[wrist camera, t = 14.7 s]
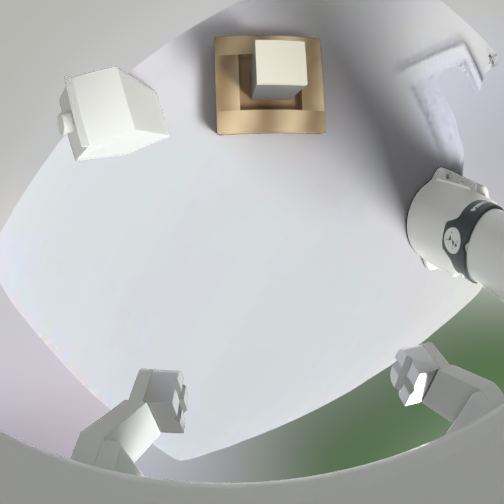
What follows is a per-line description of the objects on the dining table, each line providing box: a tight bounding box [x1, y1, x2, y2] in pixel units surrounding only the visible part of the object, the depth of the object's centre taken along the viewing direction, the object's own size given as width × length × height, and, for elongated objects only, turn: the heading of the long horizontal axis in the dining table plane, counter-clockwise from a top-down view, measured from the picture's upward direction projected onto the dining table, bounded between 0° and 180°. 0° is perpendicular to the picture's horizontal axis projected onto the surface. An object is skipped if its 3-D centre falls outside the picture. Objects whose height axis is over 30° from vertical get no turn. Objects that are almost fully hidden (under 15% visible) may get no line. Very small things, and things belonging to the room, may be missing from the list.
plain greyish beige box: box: [250, 40, 308, 100], centre depth 28 cm, size 5×5×10 cm
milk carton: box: [57, 67, 170, 161], centre depth 26 cm, size 7×7×19 cm
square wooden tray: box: [214, 35, 325, 135], centre depth 33 cm, size 14×14×3 cm
